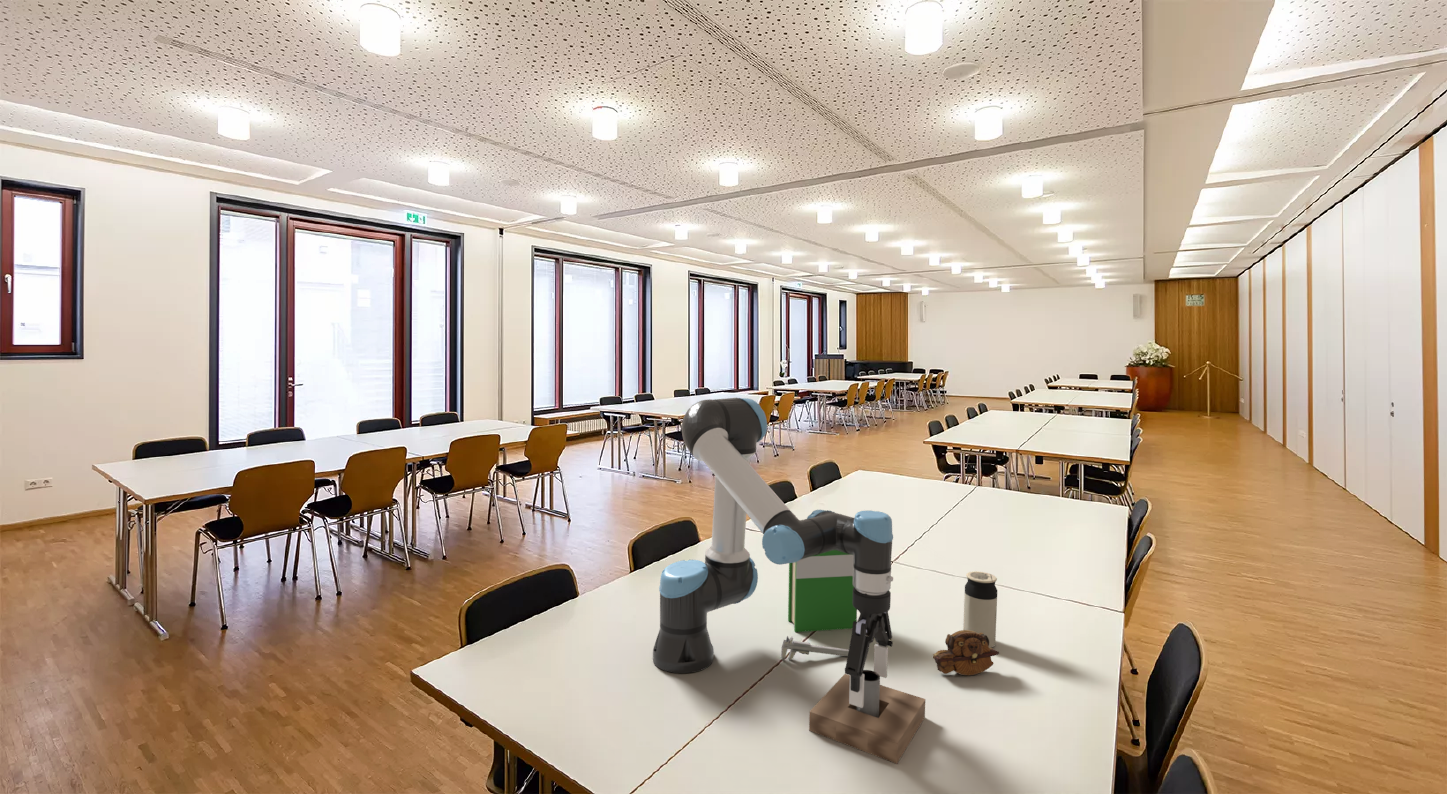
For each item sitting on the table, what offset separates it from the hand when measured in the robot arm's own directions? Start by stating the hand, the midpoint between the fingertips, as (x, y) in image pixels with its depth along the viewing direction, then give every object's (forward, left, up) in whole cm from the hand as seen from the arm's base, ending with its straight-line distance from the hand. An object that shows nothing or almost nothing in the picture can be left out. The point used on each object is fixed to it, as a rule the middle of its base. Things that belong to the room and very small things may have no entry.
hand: (868, 689), depth 127 cm
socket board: (0, 0, -7) cm, 7 cm away
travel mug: (+11, +52, -8) cm, 54 cm away
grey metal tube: (0, 0, -8) cm, 8 cm away
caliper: (-20, +20, -8) cm, 29 cm away
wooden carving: (+12, +33, -8) cm, 36 cm away
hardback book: (-28, +38, -8) cm, 48 cm away
